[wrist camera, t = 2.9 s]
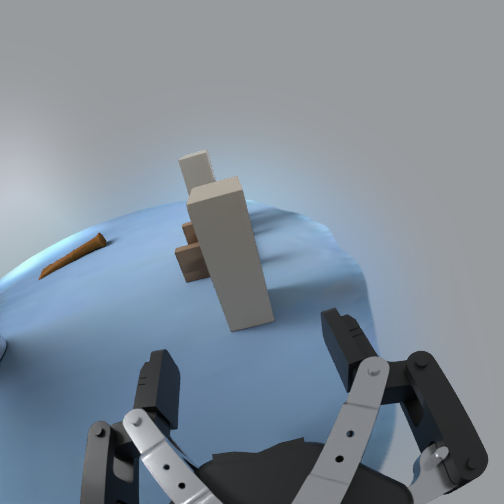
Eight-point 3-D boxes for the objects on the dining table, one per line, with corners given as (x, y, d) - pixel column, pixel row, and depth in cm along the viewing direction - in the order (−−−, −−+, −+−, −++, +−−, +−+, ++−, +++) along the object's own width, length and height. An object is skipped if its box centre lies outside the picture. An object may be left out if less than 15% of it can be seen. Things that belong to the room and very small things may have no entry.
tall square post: (202, 235, 42) (178, 160, 37) (203, 224, 47) (182, 156, 41) (227, 229, 42) (205, 152, 37) (226, 218, 47) (207, 149, 41)
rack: (186, 282, 33) (174, 252, 32) (194, 228, 49) (187, 207, 47) (249, 266, 34) (241, 234, 32) (238, 217, 49) (232, 195, 47)
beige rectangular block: (231, 331, 24) (186, 205, 19) (228, 299, 29) (192, 188, 23) (274, 320, 24) (242, 189, 19) (265, 289, 29) (237, 175, 23)
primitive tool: (38, 281, 48) (31, 268, 46) (43, 272, 53) (37, 259, 51) (107, 248, 54) (101, 233, 52) (108, 241, 58) (102, 227, 57)
